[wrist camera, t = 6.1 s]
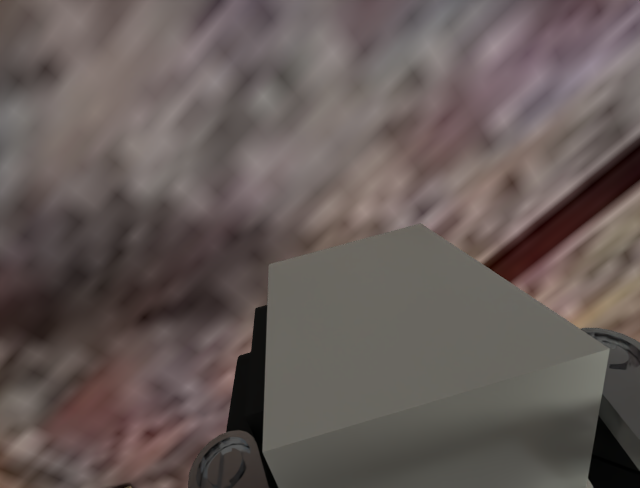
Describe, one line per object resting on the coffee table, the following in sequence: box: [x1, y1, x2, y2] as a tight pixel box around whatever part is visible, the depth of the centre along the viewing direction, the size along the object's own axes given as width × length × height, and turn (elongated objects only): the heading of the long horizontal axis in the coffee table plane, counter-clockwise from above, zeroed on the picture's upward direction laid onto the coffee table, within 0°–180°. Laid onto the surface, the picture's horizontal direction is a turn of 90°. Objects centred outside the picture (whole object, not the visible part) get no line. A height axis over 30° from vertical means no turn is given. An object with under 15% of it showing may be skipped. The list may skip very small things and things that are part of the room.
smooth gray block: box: [262, 224, 610, 488], centre depth 8 cm, size 5×5×6 cm
